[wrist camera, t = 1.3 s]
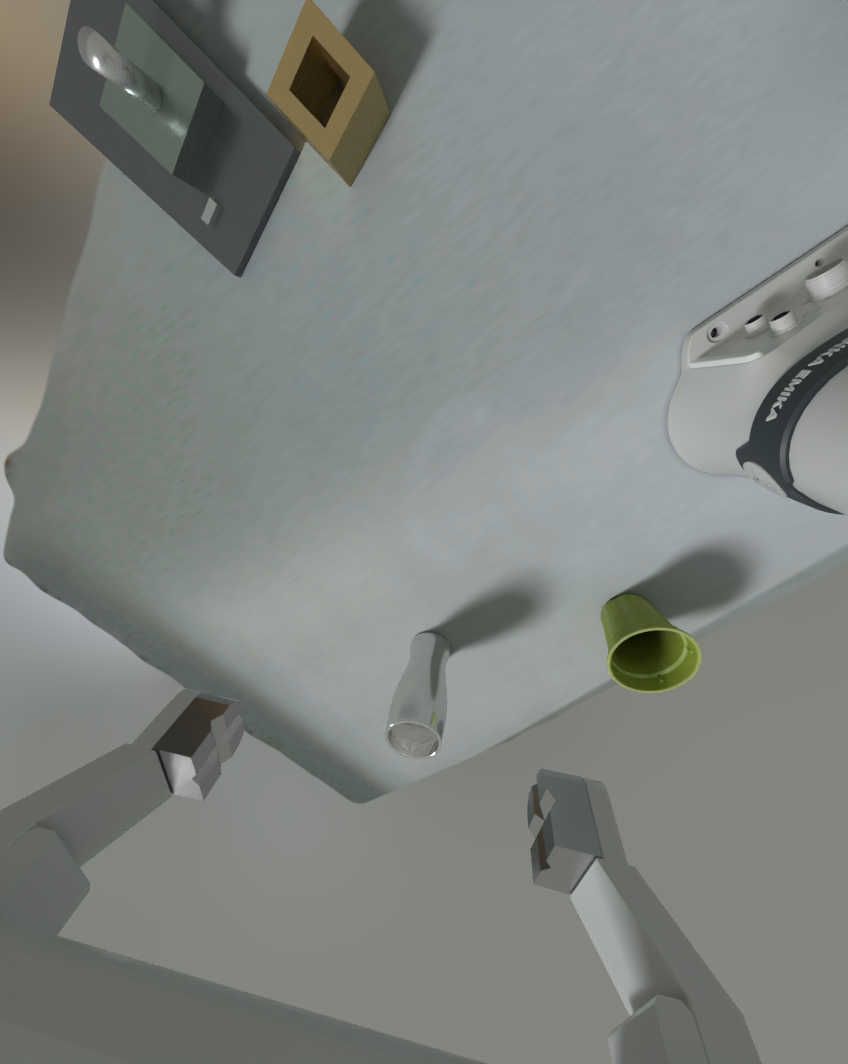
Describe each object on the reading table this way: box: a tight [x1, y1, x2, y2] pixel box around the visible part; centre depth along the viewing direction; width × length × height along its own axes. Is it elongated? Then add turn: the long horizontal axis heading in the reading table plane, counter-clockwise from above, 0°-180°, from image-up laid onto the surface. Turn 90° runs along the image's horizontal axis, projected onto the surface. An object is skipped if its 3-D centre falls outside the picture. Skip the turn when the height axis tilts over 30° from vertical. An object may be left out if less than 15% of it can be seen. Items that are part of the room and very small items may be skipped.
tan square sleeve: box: [266, 0, 391, 187], centre depth 29 cm, size 6×6×5 cm
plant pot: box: [601, 594, 702, 693], centre depth 44 cm, size 9×9×9 cm
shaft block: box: [50, 0, 300, 277], centre depth 29 cm, size 12×20×8 cm, turn 49°
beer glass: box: [385, 632, 451, 759], centre depth 48 cm, size 7×7×15 cm
